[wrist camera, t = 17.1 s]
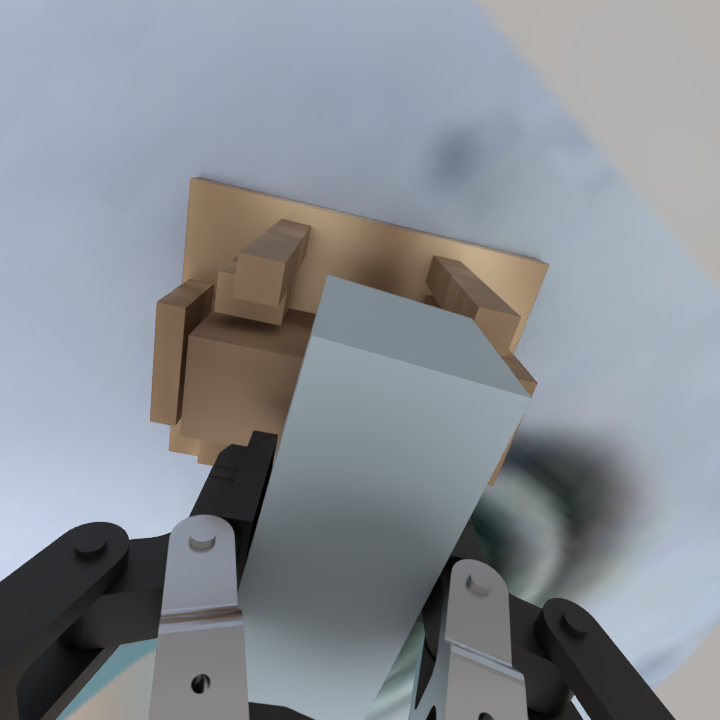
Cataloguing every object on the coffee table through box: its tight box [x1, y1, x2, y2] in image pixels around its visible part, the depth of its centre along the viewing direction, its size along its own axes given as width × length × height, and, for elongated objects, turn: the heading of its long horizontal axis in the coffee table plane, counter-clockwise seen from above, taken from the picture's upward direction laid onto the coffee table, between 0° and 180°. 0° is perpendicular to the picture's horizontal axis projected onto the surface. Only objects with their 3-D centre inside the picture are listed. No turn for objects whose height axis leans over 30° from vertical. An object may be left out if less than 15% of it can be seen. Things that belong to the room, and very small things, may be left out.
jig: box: [150, 177, 549, 485], centre depth 18 cm, size 15×13×8 cm
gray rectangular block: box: [237, 275, 532, 720], centre depth 12 cm, size 4×11×4 cm, turn 163°
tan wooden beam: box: [180, 308, 316, 453], centre depth 18 cm, size 11×4×5 cm, turn 77°
